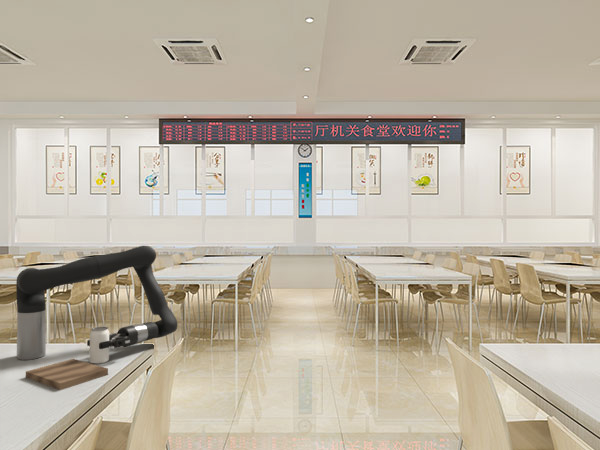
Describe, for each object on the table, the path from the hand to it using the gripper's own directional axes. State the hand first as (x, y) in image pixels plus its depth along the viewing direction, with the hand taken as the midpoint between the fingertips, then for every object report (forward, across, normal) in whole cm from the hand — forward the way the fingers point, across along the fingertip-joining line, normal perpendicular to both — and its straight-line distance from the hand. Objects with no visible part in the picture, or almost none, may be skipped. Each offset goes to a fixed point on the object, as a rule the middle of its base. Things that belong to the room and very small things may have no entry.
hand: (93, 344), depth 157 cm
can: (-2, 0, +7) cm, 7 cm away
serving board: (+13, +5, +7) cm, 15 cm away
